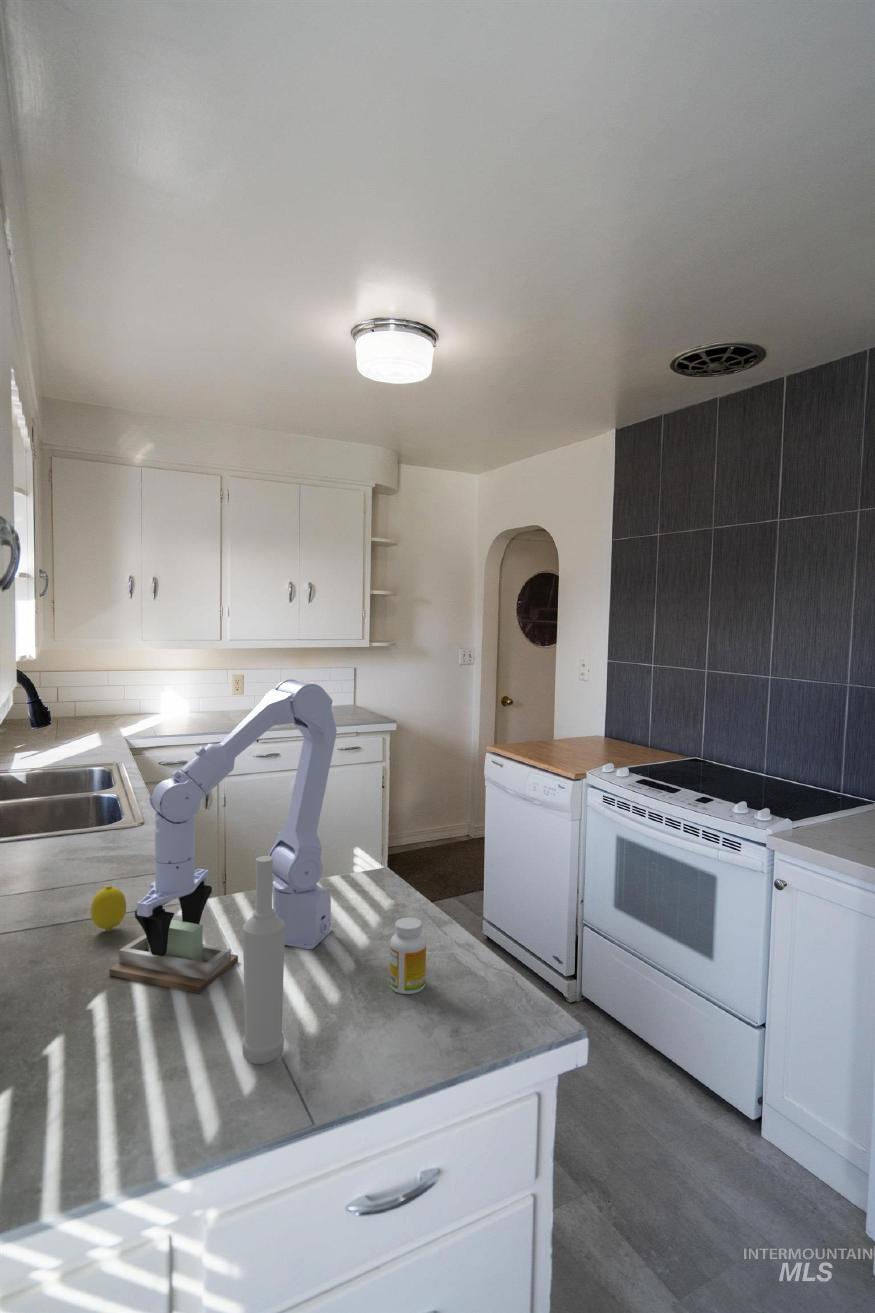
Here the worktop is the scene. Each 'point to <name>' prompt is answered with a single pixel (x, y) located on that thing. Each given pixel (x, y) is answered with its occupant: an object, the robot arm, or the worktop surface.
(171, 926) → the pale green rectangular block
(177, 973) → the track base
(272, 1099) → the worktop surface
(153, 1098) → the worktop surface
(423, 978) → the supplement bottle
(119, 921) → the lemon
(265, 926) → the bottle
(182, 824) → the robot arm
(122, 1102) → the worktop surface
